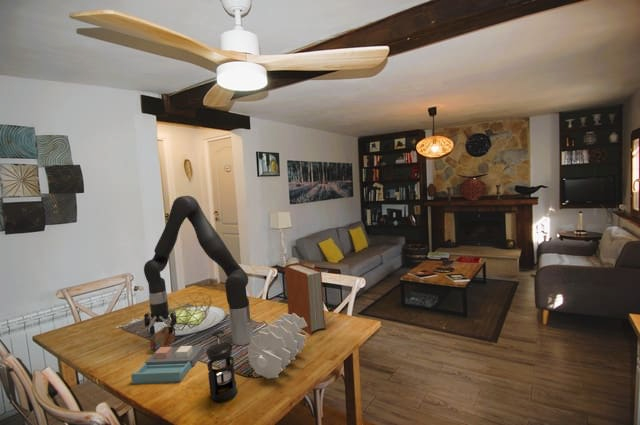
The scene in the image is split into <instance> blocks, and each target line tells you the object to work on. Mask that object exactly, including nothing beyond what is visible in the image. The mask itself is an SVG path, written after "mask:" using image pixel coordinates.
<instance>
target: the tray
mask: <svg viewBox="0 0 640 425" xmlns="http://www.w3.org/2000/svg"><path fill="white" fill-rule="evenodd" d="M192 368H193V367H191V363H190V362H187V364H164V365H147V364H145V363H144V364H143V365H141V367H140V368H139V369H138V370H136V371H135V372H132V373H131V375H130V376H131V384H132V385H141V384H142V385H143V384H146V385H147V384H165V383H166V384H167V383H169V384H170V383H181V382H182V381H183V379H184V378H186V376H187V374H188V373H189V371H191V369H192Z"/></svg>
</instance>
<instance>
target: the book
mask: <svg viewBox="0 0 640 425" xmlns="http://www.w3.org/2000/svg"><path fill="white" fill-rule="evenodd" d="M284 274H285V275H284V277H285V284H286V285H285V286H286V287H285V288H286V298H287V299H286V300H287V312H288V313H287V314H290V315H292V314H293V313H294V314H296V315H297V316H298V317H299V318H302V317H303V318H304V320H305V322H306V324H307V326H306V327H304V328H301V329H300V330H302V331H304V332H305V333H307V334H308V335H309V336H312V333H313V332H314V331H316V330H323V331H326V322H325V320H326V319H325V307H324V306H325V305H324V292H323V290H324V289H323V276H322V274H323V273H322V270H321V269H318V268H314V267H311V266H309V265H306V264H302V263H300V262H295V263H290V264H286V265H284Z"/></svg>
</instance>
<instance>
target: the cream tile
mask: <svg viewBox="0 0 640 425" xmlns="http://www.w3.org/2000/svg"><path fill="white" fill-rule="evenodd" d="M192 346H193V345H181V346H179V347H180V348H179V349H178V350H177V351H176V352H175V353H176V358H184V357H188V356H189V355H190V354H191V353H192V351H193V349H192Z"/></svg>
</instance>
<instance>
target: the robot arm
mask: <svg viewBox="0 0 640 425" xmlns="http://www.w3.org/2000/svg"><path fill="white" fill-rule="evenodd" d="M169 212H170V213H169V215H168V219H167V221H166V223H165V226H164V229H163V231H162V233H161V236H160V237H159V239H158V242H157V244H156V246H155V248H154V255H153V257H152V259H149V260H148V261H146V262H145V264H144V266H143V274H144V277H145V280H146V282H147V284H148V293H149V295H148V299H149V301H148V302H149V310H150V311H147V312H146V313H145V314H144V315H143V318H144V326H145V327H148V328H149V334H150V335H151V336H153V335H154V334H155V333H156V329H155V328H156V326H155V324H156V323H164V324H165V325H166V326H169V327H168V330H169V334H172V332H173V327H174V326H175V325H176V324H177V323H178V320H177V313H176V311H171V312H169V302H168V301H169V300H168V294H167V286H166V281H165V278H163V277H162V276H161V272H162V271H164V270H165V268H166V267H167V265H168V262H169V259H170V255H171V253H172V251H173V250H174V247H175V245H176V243H177V240H178V235H179V232H180V229H181V227H182V225H183V223H184V221H185V220H186V219H187V220H188V221H189V222H190V223H191V225H192V227H193V229H194V232H195V235H196V238H197V241H198V244H199V245H200V247H201V248H202V250H203V251H204V253H205V255H206V256H208V258H210V259H211V260H212V261H213V262H214V263H216V264H217V265H218V266H219V267H220V268H221V270H222V271H223V272H224V273H225V275H226V277H227V278H226V280H225V283H224V284H225V294H226V295H225V296H226V302H227V304H228V308H229V309H228V310H229V312H228V313H229V319H230V320H229V321H230V331H231V342H232V345H233V346H234V345H235V346H245V345H247V344H248V345H249V344H250V342H251V337H253V336H254V326H253V319H252V318H251V311H250V299H249V298H248V296H247V286H248V283H249V276H248V274H247V272H246V271H245V270H244V269H243V267H241V265H239V263H238V262H237V261H236V259H235V258H234V257H233V254H232V253H231V251H230V250H229V249H228V247H227V245H226V244H225V242H224V241H223V239H222V238H221V237H220V235H219V234H218V232H217V231H216V229H215V228H214V227H213V225H212V223H211V222H210V220H208V219H207V218H208V217H206V214H205V213H204V211H203V209H202V207H201V206H200V204H199V202H198V200H197V199H196V198H195V197H194V196H191V195H183V196H182V195H180V196H179V197H176V198H175V199H174V201H173V202H172V205H171V208H170V211H169Z"/></svg>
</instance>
